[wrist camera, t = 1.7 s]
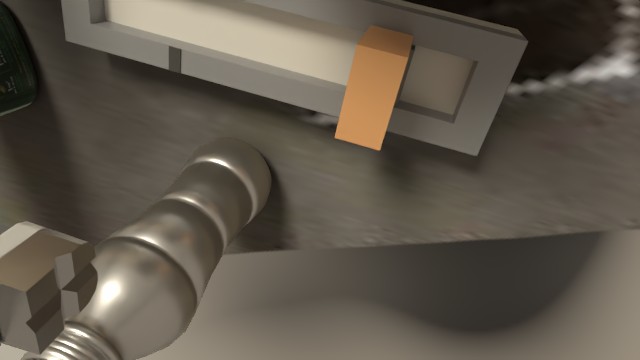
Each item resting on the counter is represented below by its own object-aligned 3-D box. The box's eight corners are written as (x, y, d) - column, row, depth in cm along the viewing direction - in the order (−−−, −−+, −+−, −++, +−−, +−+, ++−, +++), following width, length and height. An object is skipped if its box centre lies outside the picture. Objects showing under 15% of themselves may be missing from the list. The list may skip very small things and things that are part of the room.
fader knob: (419, 31, 25) (414, 59, 19) (396, 107, 27) (385, 152, 22) (369, 18, 25) (350, 42, 19) (350, 95, 27) (328, 136, 22)
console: (517, 29, 25) (528, 42, 22) (472, 133, 29) (476, 156, 26) (91, -77, 28) (49, -79, 25) (100, 30, 32) (64, 41, 29)
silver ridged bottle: (245, 114, 32) (36, 310, 15) (295, 184, 34) (158, 425, 17) (188, 149, 35) (-42, 347, 18) (237, 212, 37) (71, 442, 20)
